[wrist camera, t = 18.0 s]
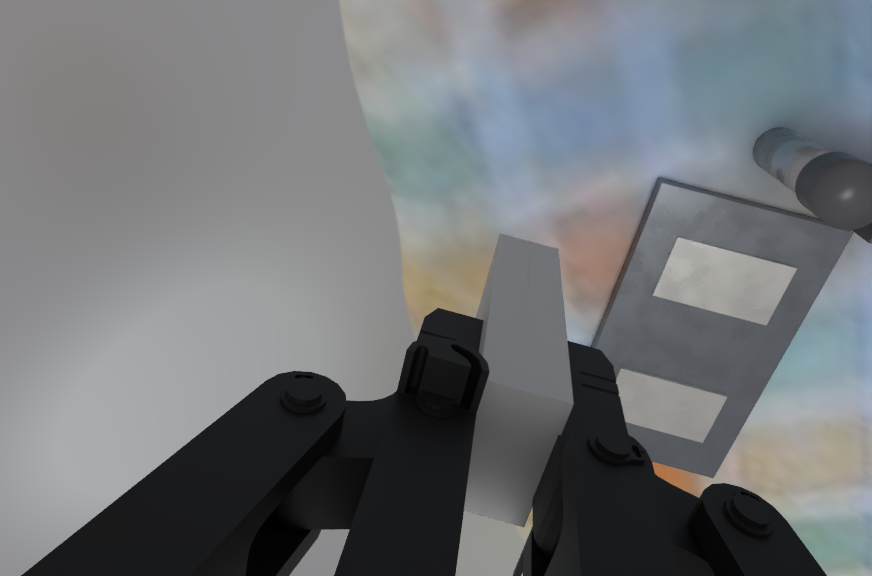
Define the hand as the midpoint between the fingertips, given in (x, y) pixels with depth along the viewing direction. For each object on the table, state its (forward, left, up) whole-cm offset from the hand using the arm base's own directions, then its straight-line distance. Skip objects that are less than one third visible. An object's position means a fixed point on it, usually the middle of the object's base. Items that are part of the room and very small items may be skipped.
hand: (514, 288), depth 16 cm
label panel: (-18, +12, -32) cm, 39 cm away
